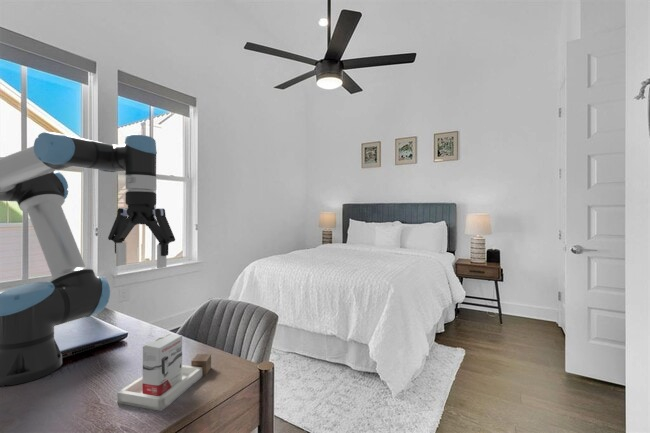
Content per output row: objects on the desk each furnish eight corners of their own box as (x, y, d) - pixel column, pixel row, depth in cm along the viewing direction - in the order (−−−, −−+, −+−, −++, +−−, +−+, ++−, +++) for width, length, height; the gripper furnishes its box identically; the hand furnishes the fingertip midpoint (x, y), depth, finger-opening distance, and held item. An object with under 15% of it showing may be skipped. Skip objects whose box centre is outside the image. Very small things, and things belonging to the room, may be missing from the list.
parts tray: (117, 403, 73) (117, 392, 73) (164, 371, 88) (164, 362, 88) (161, 411, 71) (161, 400, 71) (202, 376, 85) (202, 367, 85)
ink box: (158, 397, 74) (158, 348, 74) (141, 394, 76) (141, 345, 75) (183, 378, 83) (183, 334, 83) (167, 376, 84) (167, 332, 84)
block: (191, 375, 86) (191, 360, 86) (196, 368, 90) (196, 354, 90) (206, 375, 86) (206, 360, 86) (211, 368, 90) (211, 354, 90)
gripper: (92, 190, 88) (93, 266, 89) (169, 190, 83) (169, 271, 83) (116, 192, 96) (116, 262, 96) (188, 191, 90) (188, 266, 90)
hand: (141, 266), depth 90 cm, fingers open, 13 cm apart
